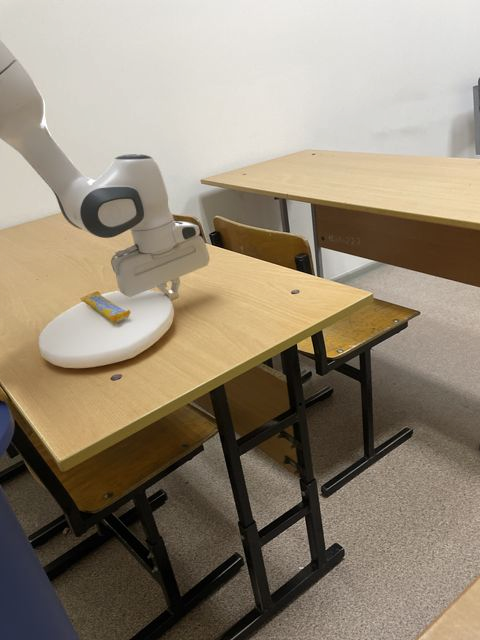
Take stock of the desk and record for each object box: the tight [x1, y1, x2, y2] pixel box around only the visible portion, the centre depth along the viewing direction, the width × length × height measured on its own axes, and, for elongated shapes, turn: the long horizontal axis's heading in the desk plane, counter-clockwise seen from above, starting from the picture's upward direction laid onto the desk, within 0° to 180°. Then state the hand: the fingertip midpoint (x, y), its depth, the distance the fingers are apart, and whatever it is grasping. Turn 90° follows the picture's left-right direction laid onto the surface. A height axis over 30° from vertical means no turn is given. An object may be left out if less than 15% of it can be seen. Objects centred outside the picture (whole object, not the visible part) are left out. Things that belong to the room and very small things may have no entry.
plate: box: [38, 289, 175, 369], centre depth 106 cm, size 28×6×27 cm
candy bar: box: [79, 290, 130, 323], centre depth 104 cm, size 17×4×2 cm, turn 38°
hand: (172, 299), depth 113 cm, fingers closed
